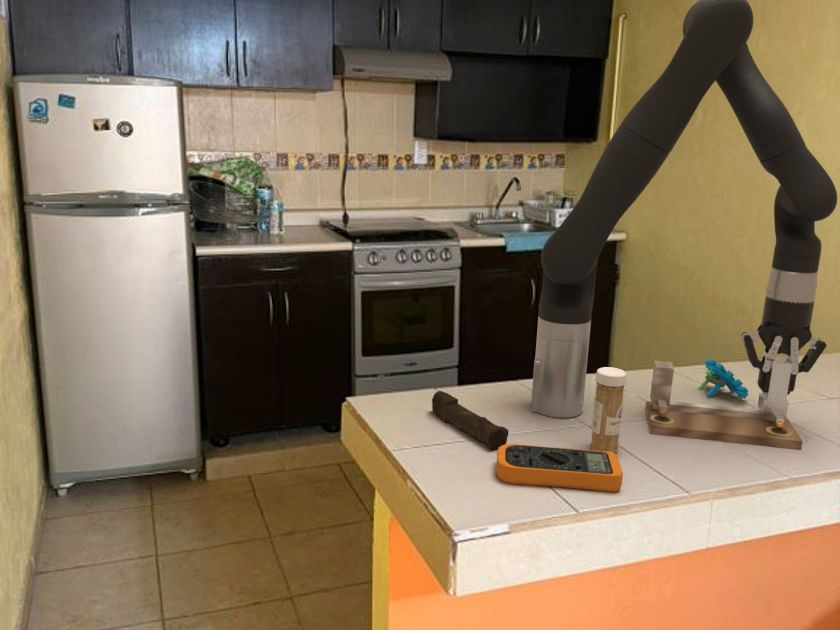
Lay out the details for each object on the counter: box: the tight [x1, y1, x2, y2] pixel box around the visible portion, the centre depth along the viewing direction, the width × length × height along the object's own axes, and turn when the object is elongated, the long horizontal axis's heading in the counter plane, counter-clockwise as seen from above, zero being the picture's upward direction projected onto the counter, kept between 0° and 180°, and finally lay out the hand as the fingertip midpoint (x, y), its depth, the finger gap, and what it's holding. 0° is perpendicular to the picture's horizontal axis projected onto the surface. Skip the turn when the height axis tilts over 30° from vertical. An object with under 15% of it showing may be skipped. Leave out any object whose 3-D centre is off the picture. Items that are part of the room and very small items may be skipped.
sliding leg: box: [757, 355, 792, 430], centre depth 133 cm, size 4×8×10 cm, turn 169°
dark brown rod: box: [431, 390, 509, 452], centre depth 131 cm, size 19×4×5 cm, turn 31°
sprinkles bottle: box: [589, 366, 627, 454], centre depth 124 cm, size 5×5×14 cm
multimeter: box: [495, 443, 624, 493], centre depth 116 cm, size 9×18×3 cm, turn 84°
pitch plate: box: [644, 360, 803, 451], centre depth 135 cm, size 24×12×10 cm, turn 79°
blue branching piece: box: [698, 358, 749, 399], centre depth 152 cm, size 11×6×10 cm
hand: (775, 391), depth 136 cm, fingers closed on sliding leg, 3 cm apart
